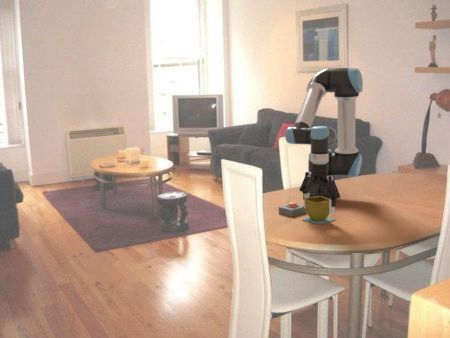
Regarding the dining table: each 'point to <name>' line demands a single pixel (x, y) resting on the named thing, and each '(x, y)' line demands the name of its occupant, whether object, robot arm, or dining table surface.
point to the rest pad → (318, 220)
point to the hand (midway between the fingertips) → (319, 210)
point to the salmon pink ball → (292, 204)
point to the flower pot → (317, 207)
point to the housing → (292, 210)
